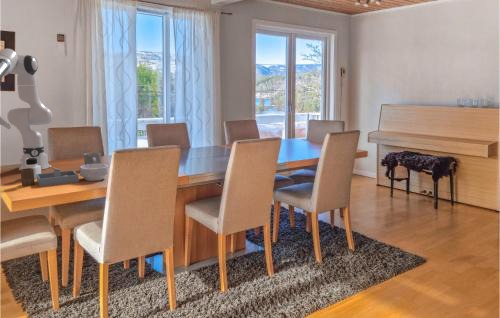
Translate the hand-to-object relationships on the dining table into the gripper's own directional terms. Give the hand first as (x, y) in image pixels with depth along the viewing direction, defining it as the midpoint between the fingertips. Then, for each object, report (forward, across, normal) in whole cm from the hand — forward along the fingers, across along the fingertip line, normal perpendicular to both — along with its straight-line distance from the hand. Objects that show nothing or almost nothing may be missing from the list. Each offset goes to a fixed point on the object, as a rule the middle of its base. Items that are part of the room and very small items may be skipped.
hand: (9, 127), depth 223 cm
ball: (+38, +4, -3) cm, 39 cm away
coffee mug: (+54, -21, +9) cm, 58 cm away
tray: (+37, +4, -8) cm, 38 cm away
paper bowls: (+50, +8, +6) cm, 51 cm away
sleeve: (+26, +4, -18) cm, 32 cm away
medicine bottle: (+29, -13, -16) cm, 35 cm away
